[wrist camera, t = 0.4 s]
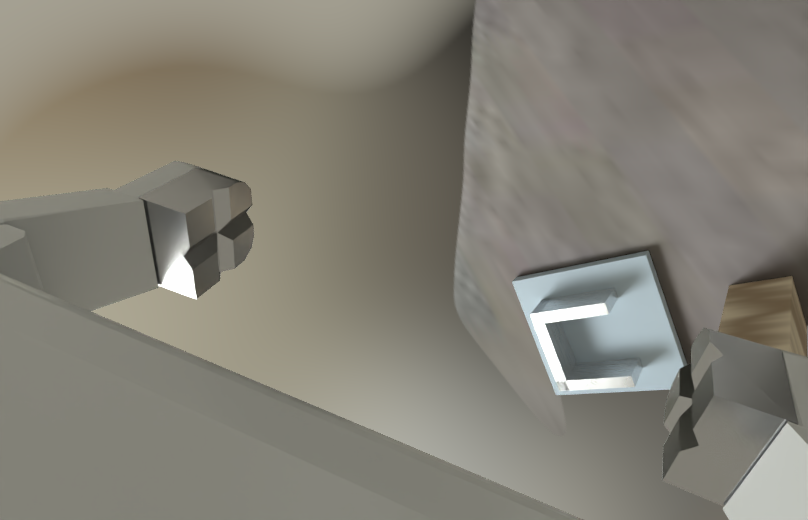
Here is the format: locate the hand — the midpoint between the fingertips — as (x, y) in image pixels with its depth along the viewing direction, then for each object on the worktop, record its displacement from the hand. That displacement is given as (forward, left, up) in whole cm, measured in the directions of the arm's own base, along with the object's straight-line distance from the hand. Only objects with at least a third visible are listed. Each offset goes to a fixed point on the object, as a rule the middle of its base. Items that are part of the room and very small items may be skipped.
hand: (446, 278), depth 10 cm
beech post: (+14, +12, -37) cm, 41 cm away
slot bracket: (+23, +3, -36) cm, 43 cm away
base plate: (+23, +3, -37) cm, 43 cm away
